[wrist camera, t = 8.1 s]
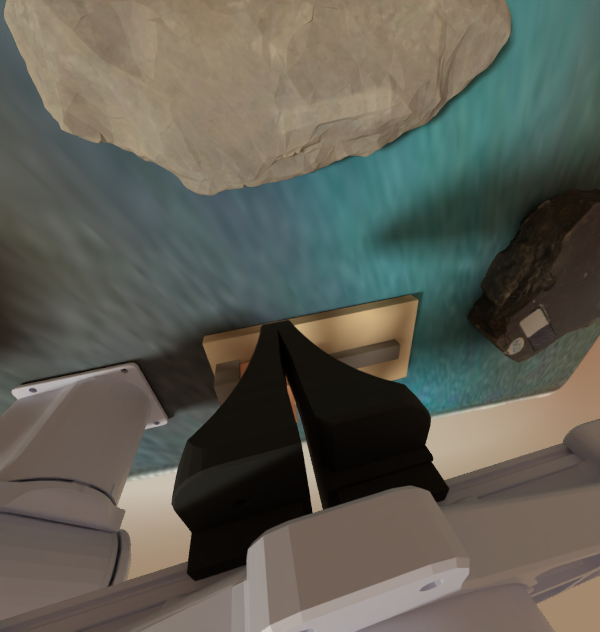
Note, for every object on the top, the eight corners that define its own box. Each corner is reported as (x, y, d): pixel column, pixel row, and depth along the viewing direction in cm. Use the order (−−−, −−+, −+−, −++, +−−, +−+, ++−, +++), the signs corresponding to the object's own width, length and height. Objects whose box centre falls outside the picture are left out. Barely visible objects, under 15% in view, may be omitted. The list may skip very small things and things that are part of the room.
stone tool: (-197, -271, 6) (618, -204, 9) (-17, -88, 11) (498, -83, 14) (65, 215, 12) (515, 158, 15) (112, 205, 16) (454, 163, 19)
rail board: (231, 410, 27) (230, 445, 24) (204, 336, 22) (197, 365, 19) (400, 369, 30) (421, 395, 26) (411, 294, 25) (438, 314, 21)
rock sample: (503, 190, 22) (567, 193, 17) (636, 184, 24) (719, 186, 20) (447, 350, 30) (481, 379, 26) (550, 333, 33) (596, 356, 29)
